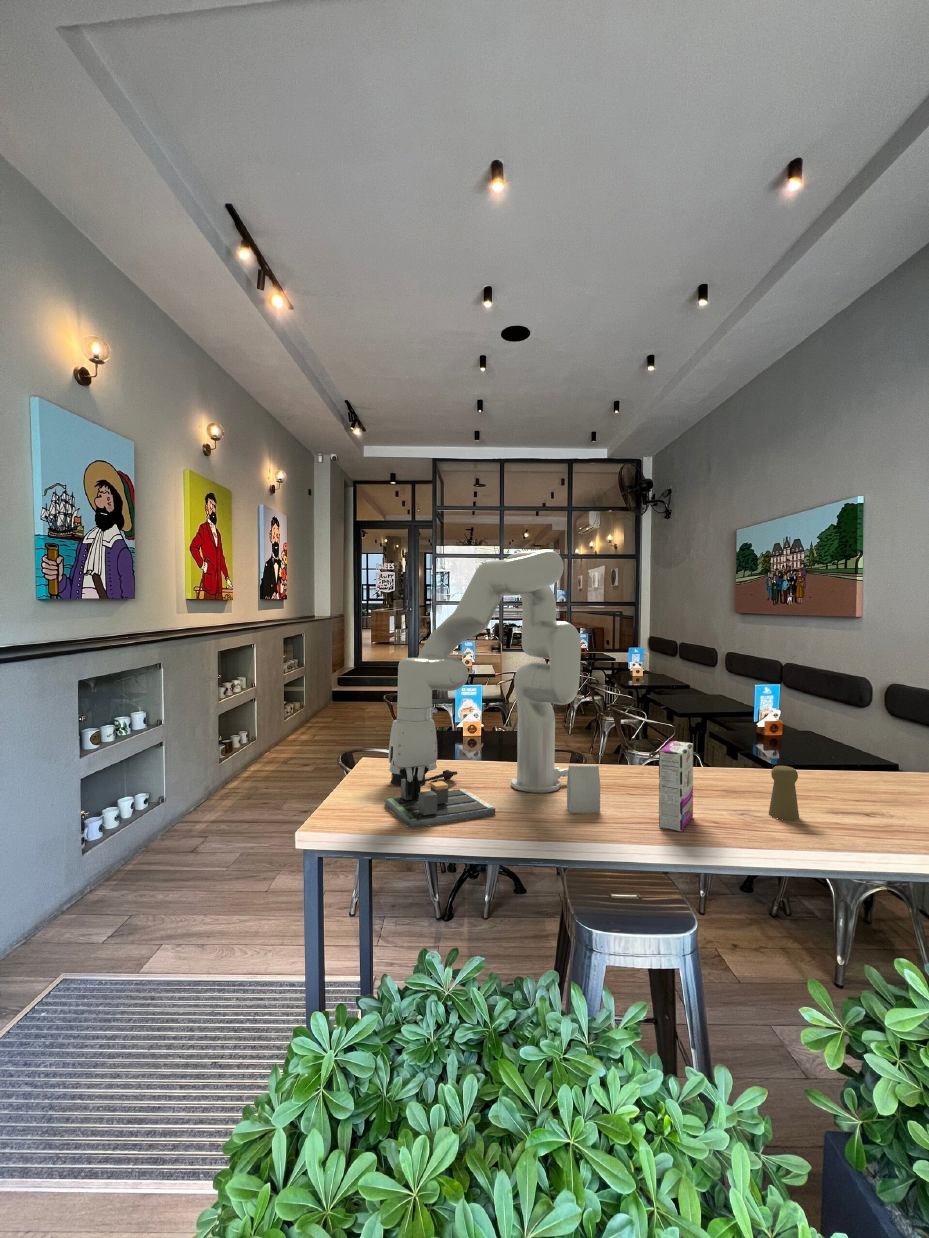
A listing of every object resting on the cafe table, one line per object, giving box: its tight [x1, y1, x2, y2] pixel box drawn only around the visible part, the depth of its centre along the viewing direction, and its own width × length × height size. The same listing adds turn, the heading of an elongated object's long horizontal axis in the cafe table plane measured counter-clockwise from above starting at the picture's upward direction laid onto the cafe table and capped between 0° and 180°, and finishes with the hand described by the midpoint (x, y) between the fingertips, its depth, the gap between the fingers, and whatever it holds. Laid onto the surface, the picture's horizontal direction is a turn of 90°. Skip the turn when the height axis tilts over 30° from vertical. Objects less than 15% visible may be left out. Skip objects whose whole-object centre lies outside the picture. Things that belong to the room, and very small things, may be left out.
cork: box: [768, 765, 800, 822], centre depth 134 cm, size 6×6×11 cm
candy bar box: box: [658, 740, 694, 833], centre depth 129 cm, size 11×5×16 cm, turn 148°
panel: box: [384, 788, 496, 829], centre depth 136 cm, size 20×16×2 cm
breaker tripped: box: [429, 780, 449, 804], centre depth 136 cm, size 3×3×4 cm
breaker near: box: [419, 790, 437, 815], centre depth 128 cm, size 3×3×4 cm
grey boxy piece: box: [566, 765, 601, 814], centre depth 137 cm, size 4×7×10 cm, turn 91°
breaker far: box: [400, 779, 411, 800], centre depth 138 cm, size 3×3×4 cm
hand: (412, 797), depth 133 cm, fingers closed
